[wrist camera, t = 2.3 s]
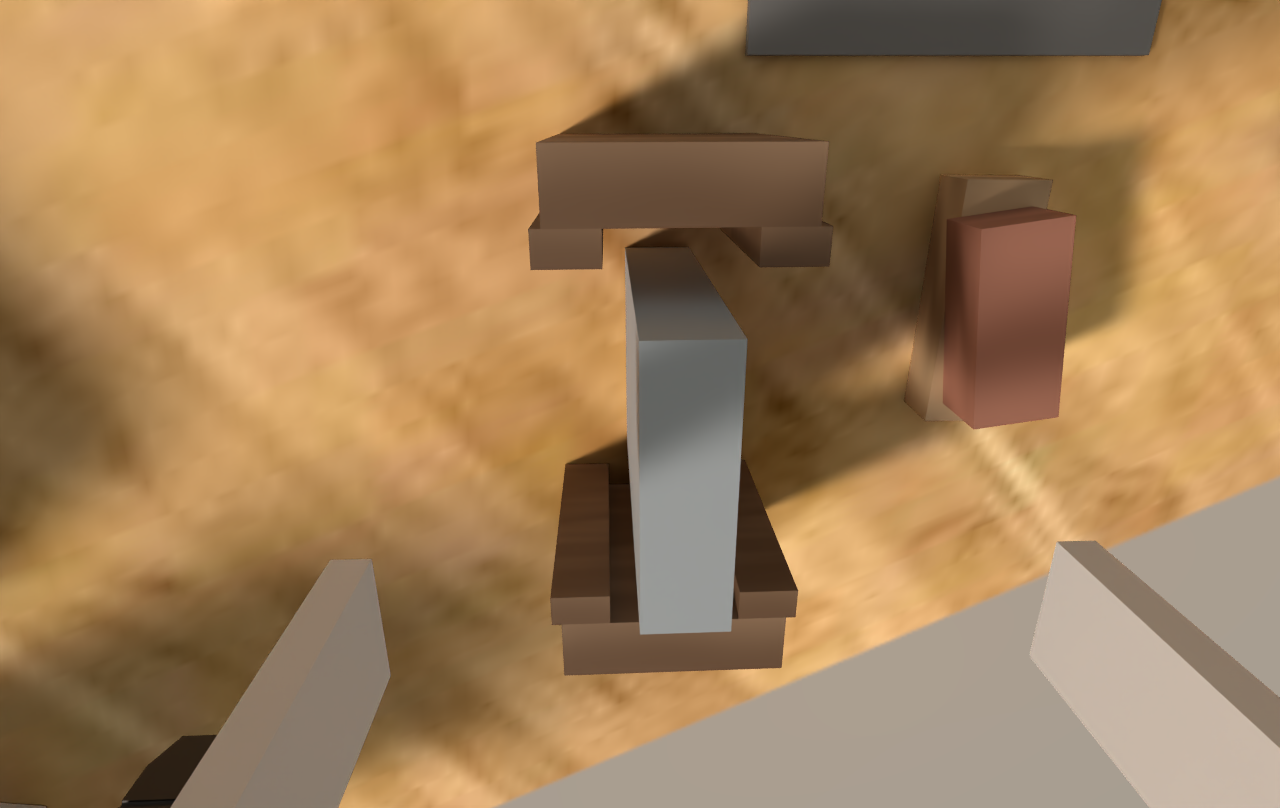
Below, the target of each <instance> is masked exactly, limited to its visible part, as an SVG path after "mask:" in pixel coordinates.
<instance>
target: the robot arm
mask: <svg viewBox="0 0 1280 808" xmlns="http://www.w3.org/2000/svg"><path fill="white" fill-rule="evenodd" d="M1029 656H1030V658H1031V659H1032V660H1033V661H1034V663H1035V664H1036V665H1037V666H1038V668H1039V669H1040V670H1041V671H1042V673H1043V674H1044V675H1045V676H1046V678H1047V679H1048V680H1049V681H1050V683H1051V684H1052V685H1053V687H1054V688H1055V689H1056V690H1057V692H1058V693H1059V694H1060V695H1061V697H1062V698H1063V699H1064V700H1065V702H1066V703H1067V704H1068V705H1069V707H1070V708H1071V709H1072V710H1073V712H1074V713H1075V714H1076V716H1077V717H1078V718H1079V719H1080V720H1081V722H1082V723H1083V724H1084V726H1085V727H1086V728H1087V729H1088V731H1089V732H1090V733H1091V734H1092V735H1093V737H1094V738H1095V739H1096V741H1097V742H1098V743H1099V745H1101V747H1102V748H1103V750H1104V751H1105V752H1106V753H1107V755H1108V756H1109V757H1110V758H1111V760H1112V761H1113V762H1114V763H1115V764H1116V766H1117V767H1118V768H1119V770H1120V771H1121V772H1122V774H1123V775H1124V776H1125V777H1126V779H1127V780H1128V781H1129V782H1130V784H1131V785H1132V786H1133V787H1134V789H1135V790H1136V791H1137V792H1138V794H1139V795H1140V796H1141V797H1142V799H1143V800H1144V801H1145V802H1146V804H1147V805H1148V806H1149V808H1280V697H1278V696H1277V695H1276V694H1275V693H1274V692H1272V691H1271V690H1270V689H1269V688H1268V687H1267V686H1265V685H1264V684H1263V683H1262V682H1261V681H1259V680H1258V679H1257V678H1256V677H1255V676H1254V675H1253V674H1251V673H1250V672H1249V671H1248V670H1246V669H1245V668H1244V667H1243V666H1242V665H1241V664H1240V663H1238V662H1237V661H1236V660H1235V659H1234V658H1233V657H1231V656H1230V655H1229V654H1228V653H1227V652H1226V651H1224V650H1223V649H1222V648H1221V647H1220V646H1218V645H1217V644H1216V643H1215V642H1214V641H1212V640H1211V639H1210V638H1209V637H1208V636H1207V635H1206V634H1204V633H1203V632H1202V631H1201V630H1200V629H1198V628H1197V627H1196V626H1195V625H1194V624H1193V623H1191V622H1190V621H1189V620H1188V619H1187V618H1186V617H1184V616H1183V615H1182V614H1181V613H1179V612H1178V611H1177V610H1176V609H1175V608H1174V607H1173V606H1171V605H1170V604H1169V603H1168V602H1167V601H1166V600H1164V599H1163V598H1162V597H1161V596H1160V595H1159V594H1157V593H1156V592H1155V591H1154V590H1153V589H1151V588H1150V587H1149V586H1148V585H1147V584H1146V583H1144V582H1143V581H1142V580H1141V579H1140V578H1139V577H1137V576H1136V575H1135V574H1134V573H1133V572H1132V571H1130V570H1129V569H1128V568H1127V567H1126V566H1124V565H1123V564H1122V563H1121V562H1120V561H1118V560H1117V559H1116V558H1115V557H1114V556H1113V555H1111V554H1110V553H1109V552H1108V551H1107V550H1106V549H1104V548H1103V547H1102V546H1101V545H1100V544H1099V543H1097V542H1096V541H1063V542H1057V543H1056V547H1055V551H1054V555H1053V559H1052V564H1051V568H1050V572H1049V576H1048V580H1047V584H1046V588H1045V593H1044V597H1043V601H1042V606H1041V609H1040V613H1039V618H1038V622H1037V626H1036V630H1035V634H1034V638H1033V643H1032V647H1031V650H1030V655H1029ZM390 676H391V674H390V668H389V662H388V656H387V650H386V643H385V637H384V631H383V625H382V619H381V613H380V607H379V601H378V594H377V588H376V582H375V576H374V570H373V564H372V559H345V560H330V561H329V562H328V564H327V566H326V567H325V569H324V570H323V572H322V573H321V575H320V576H319V578H318V580H317V581H316V583H315V584H314V586H313V587H312V589H311V590H310V592H309V593H308V595H307V597H306V598H305V600H304V601H303V603H302V604H301V606H300V607H299V609H298V611H297V612H296V614H295V615H294V617H293V618H292V620H291V621H290V623H289V625H288V626H287V628H286V629H285V631H284V632H283V634H282V635H281V637H280V638H279V640H278V642H277V643H276V645H275V646H274V648H273V649H272V651H271V652H270V654H269V656H268V657H267V659H266V660H265V662H264V663H263V665H262V666H261V668H260V669H259V671H258V673H257V674H256V676H255V677H254V679H253V680H252V682H251V683H250V685H249V687H248V688H247V690H246V691H245V693H244V694H243V696H242V697H241V699H240V700H239V702H238V704H237V705H236V707H235V708H234V710H233V711H232V713H231V714H230V716H229V718H228V719H227V721H226V722H225V724H224V725H223V727H222V728H221V730H220V731H219V733H218V735H203V736H182V737H181V738H180V739H179V740H178V741H176V742H175V743H174V744H173V745H172V746H170V747H169V748H168V749H167V750H166V751H164V752H163V753H162V754H161V755H160V756H158V757H157V758H156V759H155V760H154V761H152V762H151V763H150V764H149V765H148V766H147V767H146V768H145V770H144V771H143V772H142V774H141V775H140V776H139V778H138V779H137V781H136V782H135V783H134V785H133V786H132V788H131V789H130V790H129V792H128V793H127V794H126V796H125V797H124V799H123V800H122V805H121V807H120V808H338V807H339V804H340V802H341V799H342V797H343V794H344V792H345V789H346V787H347V784H348V782H349V779H350V777H351V774H352V772H353V769H354V767H355V764H356V762H357V759H358V757H359V754H360V752H361V749H362V747H363V744H364V742H365V739H366V737H367V734H368V732H369V729H370V727H371V724H372V722H373V719H374V717H375V714H376V712H377V709H378V706H379V704H380V701H381V699H382V696H383V694H384V691H385V689H386V686H387V684H388V681H389V679H390Z"/></svg>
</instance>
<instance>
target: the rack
mask: <svg viewBox="0 0 1280 808" xmlns="http://www.w3.org/2000/svg"><path fill="white" fill-rule="evenodd" d="M828 148H829V141H820V140H811V139H802V138H793V137H784V136H775V135H766V134H757V133H718V134H558V135H555V136H552V137H550V138H547V139H545V140H542V141H539V142H537V143H536V155H537V173H538V192H539V210H540V213H539V214H538V216H537V217H536V219H535V220H534V222H533V223H532V225H531V226H530V228H529V229H528V233H529V250H530V266H531V270H563V269H602V262H603V229H618V228H720V229H721V230H722V231H723V232H724V233H725V234H726V235H727V236H728V237H729V238H730V239H731V240H732V241H733V242H734V243H735V244H736V245H737V246H738V247H739V248H740V249H741V250H742V251H743V252H744V253H746V254H747V255H748V256H749V257H750V258H751V259H752V260H753V261H754V262H755V263H756V264H757V265H758V266H759V267H819V266H829V265H830V255H831V244H832V234H833V226H831V225H829V224H827V223H825V222H823V221H822V214H823V203H824V192H825V181H826V170H827V159H828ZM797 596H798V589H797V587H796V584H795V582H794V580H793V577H792V575H791V572H790V570H789V567H788V565H787V562H786V560H785V557H784V555H783V553H782V550H781V548H780V545H779V543H778V540H777V538H776V535H775V533H774V530H773V528H772V526H771V523H770V521H769V518H768V516H767V513H766V511H765V508H764V506H763V503H762V501H761V499H760V496H759V494H758V491H757V489H756V486H755V484H754V481H753V479H752V476H751V474H750V472H749V469H748V467H747V464H746V462H745V460H741V464H740V482H739V500H738V518H737V536H736V554H735V572H734V589H733V607H732V625H731V632H701V633H671V634H640V627H639V612H638V597H637V582H636V567H635V552H634V537H633V522H632V507H631V492H630V484H609V468H608V463H605V464H566V465H565V474H564V483H563V492H562V501H561V509H560V518H559V527H558V536H557V545H556V554H555V562H554V571H553V580H552V589H551V598H550V599H551V616H552V625H562V638H563V656H564V675H591V674H619V673H648V672H676V671H705V670H733V669H761V668H781V667H782V656H783V645H784V634H785V623H786V617H796V606H797Z"/></svg>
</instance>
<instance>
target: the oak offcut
mask: <svg viewBox="0 0 1280 808" xmlns="http://www.w3.org/2000/svg"><path fill="white" fill-rule="evenodd" d="M1052 183H1053V180H1049V179H1041V178H1034V177H1027V176H1020V175H941V178H940V184H939V190H938V196H937V202H936V208H935V215H934V221H933V227H932V233H931V239H930V245H929V251H928V258H927V264H926V270H925V276H924V282H923V288H922V294H921V301H920V307H919V313H918V319H917V325H916V331H915V337H914V344H913V350H912V356H911V362H910V368H909V374H908V380H907V387H906V393H905V399H904V402H906V403H907V404H908V405H909V406H910V407H911V408H912V409H913V410H914V411H915V412H916V413H917V414H918V415H919V416H920V417H921V418H922V419H924V420H925V421H963V420H962V419H961V418H960V417H958V416H957V415H956V414H955V413H954V412H953V411H951V410H950V409H949V408H948V407H947V406H946V405H944V404H943V369H944V325H945V275H946V229H947V219H950V218H957V217H964V216H971V215H977V214H984V213H991V212H997V211H1004V210H1011V209H1017V208H1024V207H1031V206H1034V207H1039V208H1043V209H1047V205H1048V201H1049V196H1050V192H1051V187H1052Z"/></svg>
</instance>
